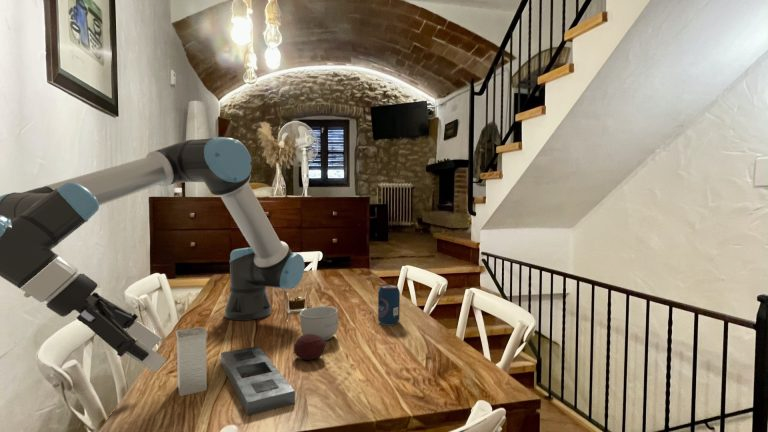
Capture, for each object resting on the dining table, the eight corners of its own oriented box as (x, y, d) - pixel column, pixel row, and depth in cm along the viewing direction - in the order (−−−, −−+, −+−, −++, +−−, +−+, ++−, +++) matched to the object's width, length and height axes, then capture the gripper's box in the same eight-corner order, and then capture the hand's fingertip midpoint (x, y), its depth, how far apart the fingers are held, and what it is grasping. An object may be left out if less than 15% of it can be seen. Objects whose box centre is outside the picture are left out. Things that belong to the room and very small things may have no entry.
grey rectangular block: (176, 386, 87) (175, 330, 86) (203, 380, 90) (203, 326, 89) (178, 396, 82) (178, 338, 82) (207, 390, 85) (207, 333, 84)
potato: (302, 367, 97) (302, 342, 97) (288, 356, 104) (288, 333, 103) (329, 360, 101) (329, 336, 101) (314, 350, 108) (314, 327, 108)
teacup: (330, 346, 111) (330, 317, 111) (293, 342, 113) (293, 314, 113) (345, 330, 125) (345, 304, 124) (312, 327, 127) (312, 302, 127)
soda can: (373, 322, 133) (373, 285, 132) (389, 318, 137) (389, 282, 137) (387, 327, 127) (388, 289, 127) (403, 323, 132) (404, 286, 132)
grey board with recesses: (220, 362, 99) (220, 352, 99) (258, 355, 104) (258, 345, 104) (247, 415, 75) (247, 401, 75) (294, 403, 80) (294, 390, 80)
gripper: (55, 290, 83) (141, 349, 91) (28, 322, 62) (144, 395, 70) (86, 262, 85) (168, 322, 94) (71, 284, 64) (179, 359, 73)
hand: (158, 354), depth 82 cm, fingers open, 13 cm apart
